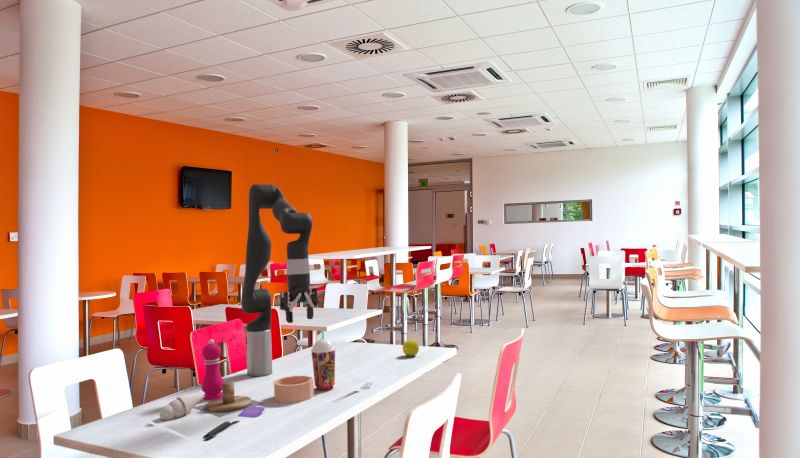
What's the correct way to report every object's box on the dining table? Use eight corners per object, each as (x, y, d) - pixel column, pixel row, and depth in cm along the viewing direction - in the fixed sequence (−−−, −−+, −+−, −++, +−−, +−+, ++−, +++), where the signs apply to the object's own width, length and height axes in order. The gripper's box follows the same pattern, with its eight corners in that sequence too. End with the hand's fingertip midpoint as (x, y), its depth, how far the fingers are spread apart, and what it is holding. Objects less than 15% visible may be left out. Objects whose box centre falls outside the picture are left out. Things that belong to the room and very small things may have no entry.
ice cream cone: (208, 408, 180) (164, 430, 168) (198, 394, 182) (153, 415, 171) (212, 396, 177) (167, 417, 165) (202, 382, 179) (157, 402, 168)
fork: (321, 405, 180) (321, 400, 180) (367, 386, 200) (366, 381, 200) (329, 407, 178) (329, 401, 178) (374, 387, 199) (374, 382, 199)
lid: (197, 407, 180) (196, 385, 180) (236, 396, 191) (235, 375, 191) (220, 415, 171) (219, 392, 171) (260, 403, 181) (259, 381, 181)
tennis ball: (402, 354, 249) (401, 338, 249) (417, 353, 250) (417, 337, 250) (403, 358, 242) (403, 341, 242) (420, 357, 243) (419, 340, 243)
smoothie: (332, 392, 194) (330, 333, 194) (309, 391, 195) (307, 333, 195) (340, 385, 202) (337, 329, 202) (317, 385, 203) (315, 329, 204)
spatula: (213, 443, 150) (213, 434, 150) (193, 441, 152) (192, 432, 152) (266, 415, 172) (266, 407, 172) (247, 413, 175) (247, 405, 175)
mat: (192, 409, 180) (192, 407, 180) (237, 397, 192) (237, 395, 192) (219, 418, 169) (219, 416, 169) (265, 405, 181) (264, 403, 181)
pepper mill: (229, 396, 193) (226, 337, 193) (215, 402, 186) (213, 341, 187) (211, 395, 196) (209, 337, 196) (197, 401, 189) (195, 341, 189)
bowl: (267, 400, 187) (266, 382, 187) (297, 391, 196) (297, 374, 196) (290, 406, 179) (289, 387, 179) (321, 397, 188) (320, 379, 188)
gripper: (307, 270, 198) (309, 317, 198) (274, 273, 188) (275, 323, 188) (321, 270, 194) (323, 318, 194) (288, 274, 183) (290, 324, 183)
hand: (300, 320), depth 191 cm, fingers open, 8 cm apart
